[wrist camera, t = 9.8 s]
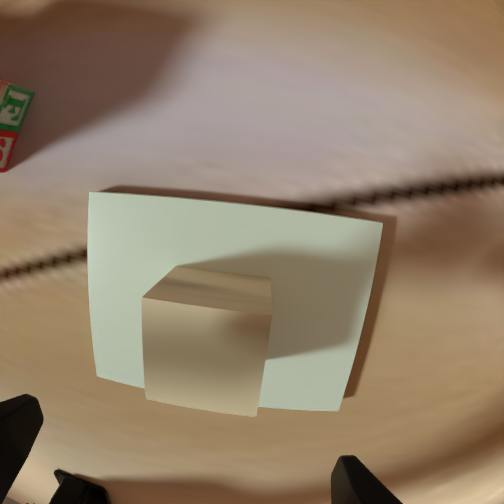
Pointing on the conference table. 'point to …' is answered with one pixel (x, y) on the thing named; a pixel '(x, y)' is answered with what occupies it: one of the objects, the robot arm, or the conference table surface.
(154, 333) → the beige cube
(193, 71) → the conference table surface
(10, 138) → the stack of blocks
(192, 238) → the sage board
